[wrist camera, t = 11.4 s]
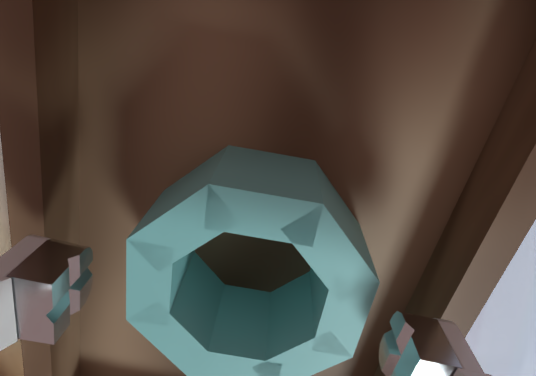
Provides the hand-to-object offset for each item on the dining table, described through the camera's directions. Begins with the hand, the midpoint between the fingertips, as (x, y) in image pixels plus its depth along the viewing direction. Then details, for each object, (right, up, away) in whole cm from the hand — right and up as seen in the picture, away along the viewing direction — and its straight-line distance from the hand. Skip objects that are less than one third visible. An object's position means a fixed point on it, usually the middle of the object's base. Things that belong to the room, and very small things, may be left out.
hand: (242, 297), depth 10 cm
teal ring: (0, 0, +3) cm, 3 cm away
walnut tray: (0, +1, +3) cm, 4 cm away
